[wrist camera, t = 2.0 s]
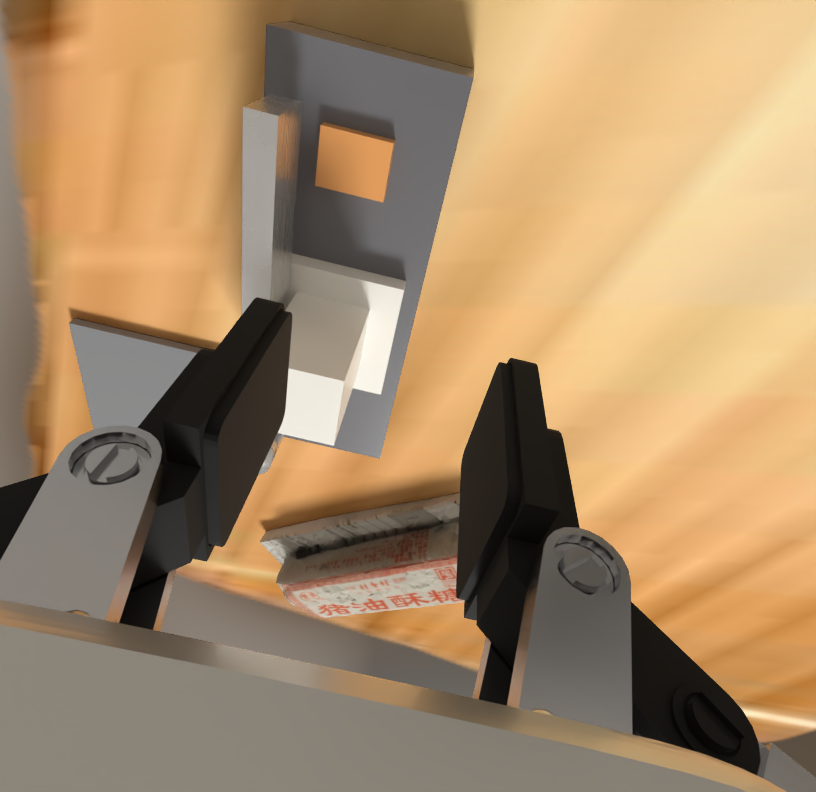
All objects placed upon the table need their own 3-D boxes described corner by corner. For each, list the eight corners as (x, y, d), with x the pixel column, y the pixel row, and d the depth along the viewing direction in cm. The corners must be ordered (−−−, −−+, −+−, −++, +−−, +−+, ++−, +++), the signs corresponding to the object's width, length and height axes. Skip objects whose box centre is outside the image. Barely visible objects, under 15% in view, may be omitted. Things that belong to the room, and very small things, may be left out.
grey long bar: (260, 90, 20) (230, 103, 17) (312, 104, 20) (290, 118, 17) (252, 433, 31) (233, 469, 28) (285, 440, 31) (269, 477, 28)
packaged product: (464, 538, 34) (508, 617, 40) (466, 484, 38) (505, 563, 43) (243, 576, 40) (307, 641, 45) (263, 525, 44) (320, 591, 49)
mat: (74, 318, 32) (69, 322, 32) (248, 358, 33) (245, 364, 32) (105, 452, 40) (100, 457, 39) (246, 484, 40) (243, 489, 40)
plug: (293, 228, 27) (217, 321, 19) (412, 258, 27) (385, 360, 20) (286, 331, 31) (221, 442, 23) (390, 356, 31) (360, 474, 23)
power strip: (289, 21, 22) (260, 24, 19) (474, 69, 22) (472, 79, 19) (270, 400, 35) (251, 436, 32) (386, 427, 35) (378, 465, 32)
